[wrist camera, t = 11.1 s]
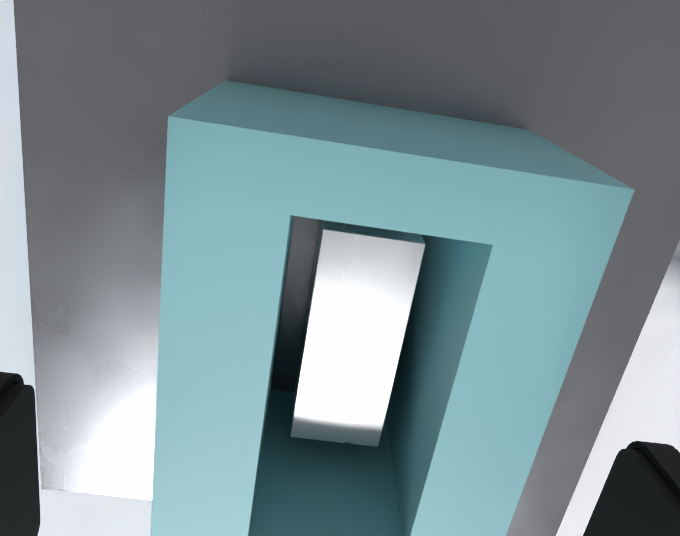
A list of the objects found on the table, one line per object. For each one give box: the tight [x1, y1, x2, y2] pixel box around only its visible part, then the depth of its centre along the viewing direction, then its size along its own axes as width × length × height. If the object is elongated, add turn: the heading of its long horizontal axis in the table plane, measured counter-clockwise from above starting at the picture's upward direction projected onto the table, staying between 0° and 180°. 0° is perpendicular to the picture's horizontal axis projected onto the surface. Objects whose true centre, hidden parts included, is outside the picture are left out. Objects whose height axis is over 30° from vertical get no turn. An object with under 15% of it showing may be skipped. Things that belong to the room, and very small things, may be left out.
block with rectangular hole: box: [151, 80, 635, 536], centre depth 13 cm, size 9×7×5 cm
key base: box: [14, 0, 680, 536], centre depth 14 cm, size 16×16×4 cm
